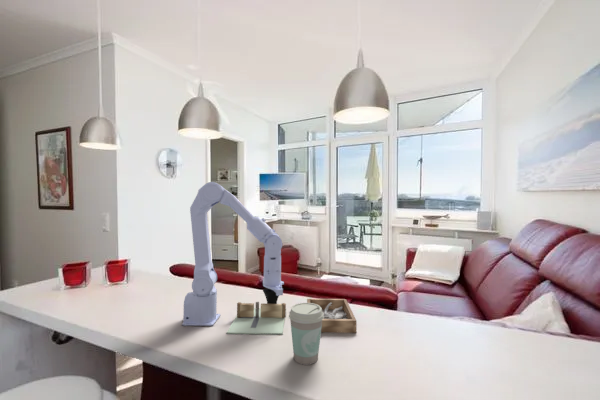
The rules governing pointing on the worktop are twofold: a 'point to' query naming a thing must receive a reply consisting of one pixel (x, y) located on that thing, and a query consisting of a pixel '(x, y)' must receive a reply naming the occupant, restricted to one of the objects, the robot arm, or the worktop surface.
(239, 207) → the robot arm
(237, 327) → the mat
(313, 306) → the coffee cup
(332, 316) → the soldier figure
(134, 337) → the worktop surface
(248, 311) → the fixed rail
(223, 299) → the worktop surface
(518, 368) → the worktop surface
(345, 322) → the box
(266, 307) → the rail
